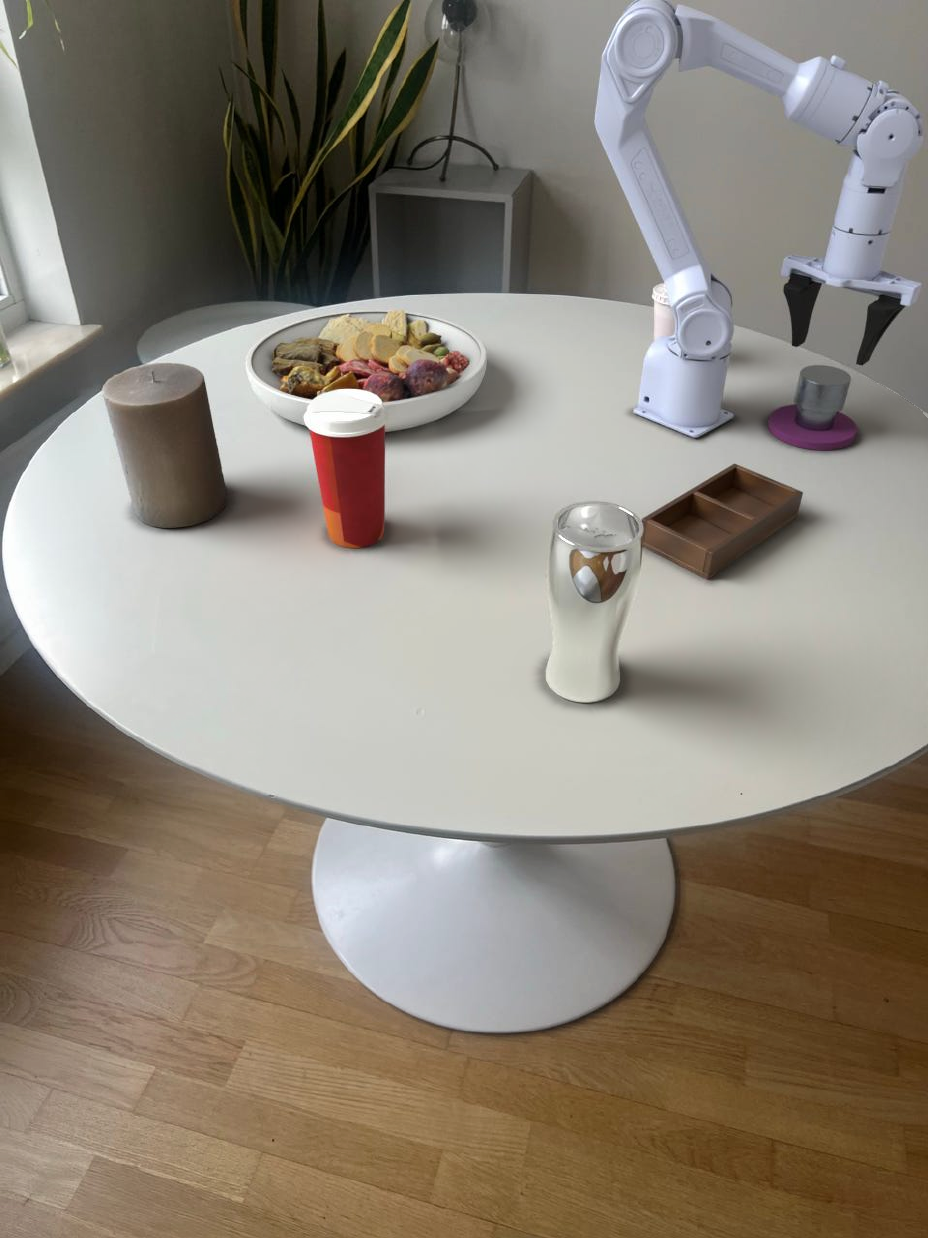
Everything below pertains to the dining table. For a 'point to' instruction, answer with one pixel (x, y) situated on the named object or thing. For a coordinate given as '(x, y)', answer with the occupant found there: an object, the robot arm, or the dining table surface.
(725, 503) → the tray
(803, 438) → the plum lid
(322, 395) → the paper cup
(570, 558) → the beer glass
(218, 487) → the pillar candle
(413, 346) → the bowl
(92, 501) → the dining table surface
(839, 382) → the grey metal cylinder
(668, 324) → the smoothie
